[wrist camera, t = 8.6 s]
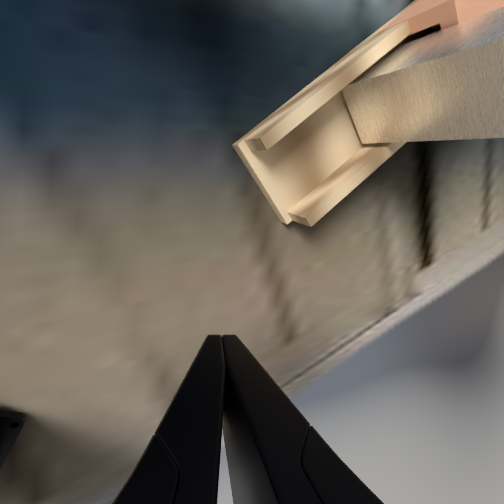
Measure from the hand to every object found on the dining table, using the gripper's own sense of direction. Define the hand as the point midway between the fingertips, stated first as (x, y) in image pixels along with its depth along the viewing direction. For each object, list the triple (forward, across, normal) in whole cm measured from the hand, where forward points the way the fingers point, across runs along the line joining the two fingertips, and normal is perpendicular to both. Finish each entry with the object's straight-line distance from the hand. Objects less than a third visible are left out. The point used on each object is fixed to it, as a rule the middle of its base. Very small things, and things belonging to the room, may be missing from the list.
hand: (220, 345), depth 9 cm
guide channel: (+18, +10, +6) cm, 21 cm away
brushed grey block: (+18, +13, +8) cm, 23 cm away
